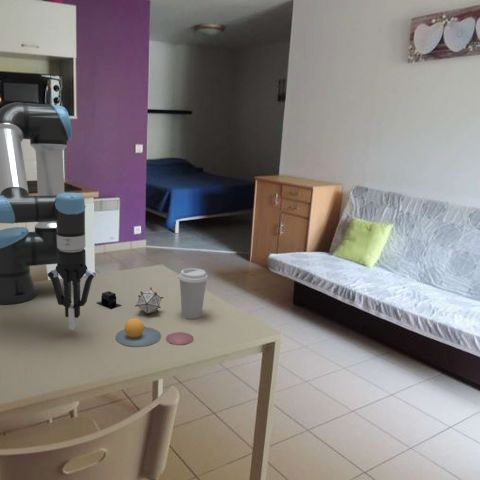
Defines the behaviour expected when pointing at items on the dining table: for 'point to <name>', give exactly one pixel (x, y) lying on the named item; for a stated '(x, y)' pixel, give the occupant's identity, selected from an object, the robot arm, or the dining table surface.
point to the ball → (134, 328)
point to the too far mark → (179, 338)
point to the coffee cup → (192, 292)
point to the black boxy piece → (108, 300)
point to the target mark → (139, 338)
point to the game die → (149, 301)
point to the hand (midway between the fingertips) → (72, 327)
